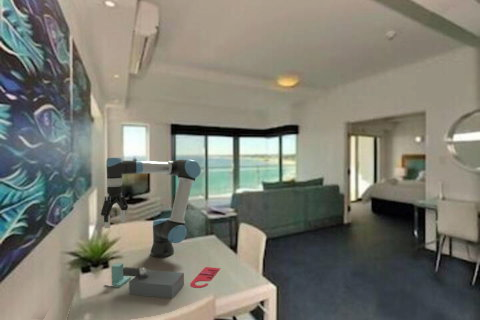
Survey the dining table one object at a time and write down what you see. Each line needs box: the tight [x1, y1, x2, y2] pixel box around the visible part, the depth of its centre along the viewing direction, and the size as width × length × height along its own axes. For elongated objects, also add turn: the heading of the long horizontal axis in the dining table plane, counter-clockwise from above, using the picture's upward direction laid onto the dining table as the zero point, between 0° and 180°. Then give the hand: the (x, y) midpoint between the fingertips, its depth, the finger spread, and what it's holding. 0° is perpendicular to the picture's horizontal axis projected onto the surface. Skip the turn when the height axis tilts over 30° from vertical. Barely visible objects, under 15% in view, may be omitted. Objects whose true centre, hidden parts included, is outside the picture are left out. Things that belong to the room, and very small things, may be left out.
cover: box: [111, 262, 132, 288], centre depth 146 cm, size 9×9×10 cm
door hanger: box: [190, 266, 221, 289], centre depth 151 cm, size 9×1×25 cm
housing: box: [128, 269, 185, 299], centre depth 138 cm, size 14×22×6 cm, turn 79°
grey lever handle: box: [123, 266, 147, 278], centre depth 139 cm, size 12×3×4 cm, turn 81°
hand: (115, 224), depth 152 cm, fingers open, 13 cm apart
